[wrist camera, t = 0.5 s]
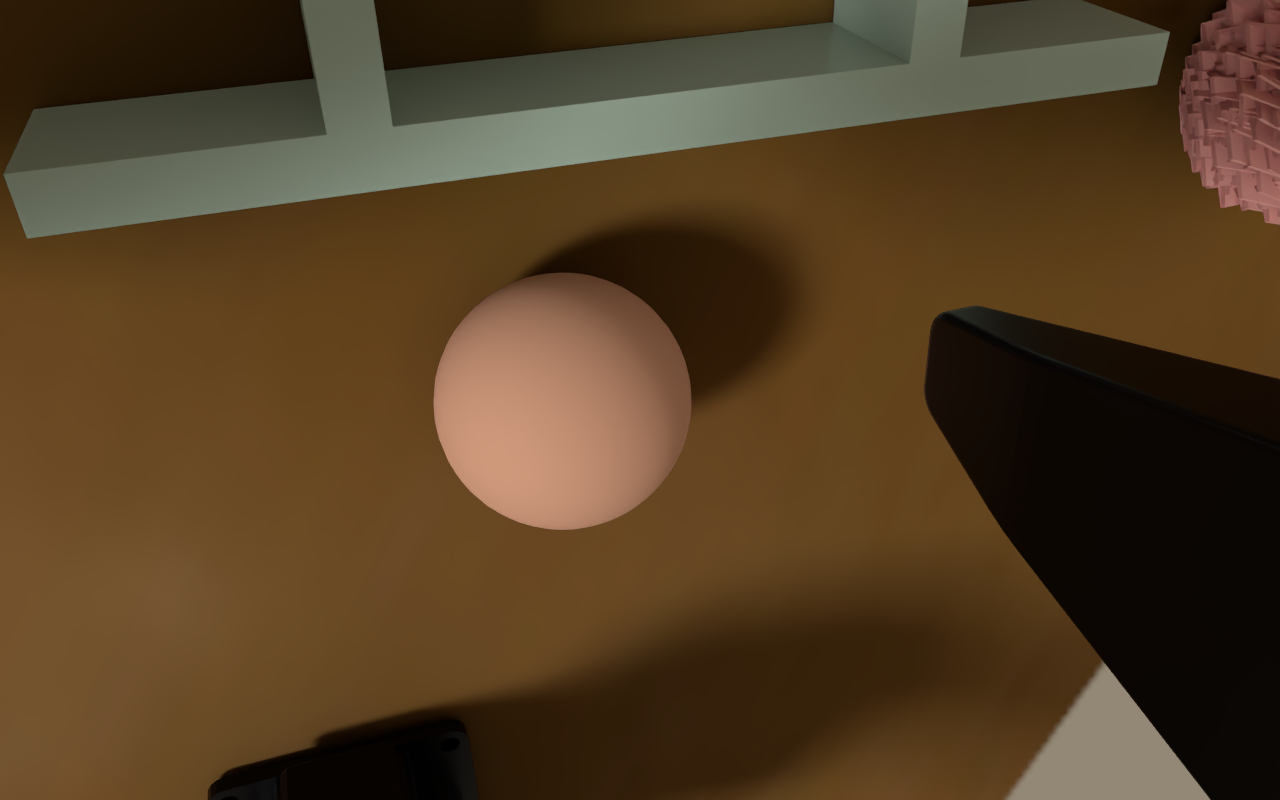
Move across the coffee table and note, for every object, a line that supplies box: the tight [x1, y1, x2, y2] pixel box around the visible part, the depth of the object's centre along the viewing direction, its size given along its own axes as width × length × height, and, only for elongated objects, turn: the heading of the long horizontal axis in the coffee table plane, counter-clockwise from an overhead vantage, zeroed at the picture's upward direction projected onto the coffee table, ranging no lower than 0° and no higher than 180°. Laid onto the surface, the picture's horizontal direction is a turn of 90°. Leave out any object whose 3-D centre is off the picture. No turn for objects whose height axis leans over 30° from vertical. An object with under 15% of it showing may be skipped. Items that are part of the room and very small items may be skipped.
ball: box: [434, 273, 691, 530], centre depth 21 cm, size 5×5×5 cm
